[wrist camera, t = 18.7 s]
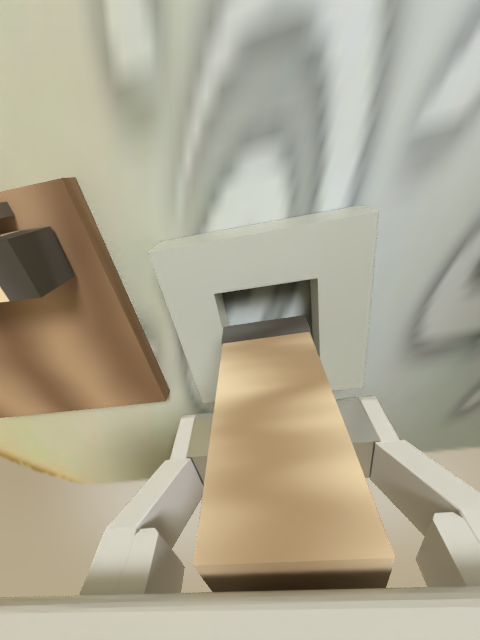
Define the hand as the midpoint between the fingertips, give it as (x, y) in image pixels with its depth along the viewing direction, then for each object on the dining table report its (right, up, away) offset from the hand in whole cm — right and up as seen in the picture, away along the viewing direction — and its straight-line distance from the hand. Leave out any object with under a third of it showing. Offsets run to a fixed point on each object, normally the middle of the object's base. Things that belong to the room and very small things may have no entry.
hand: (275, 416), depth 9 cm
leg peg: (0, +2, +3) cm, 4 cm away
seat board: (-15, +3, +7) cm, 17 cm away
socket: (0, +4, +6) cm, 7 cm away
